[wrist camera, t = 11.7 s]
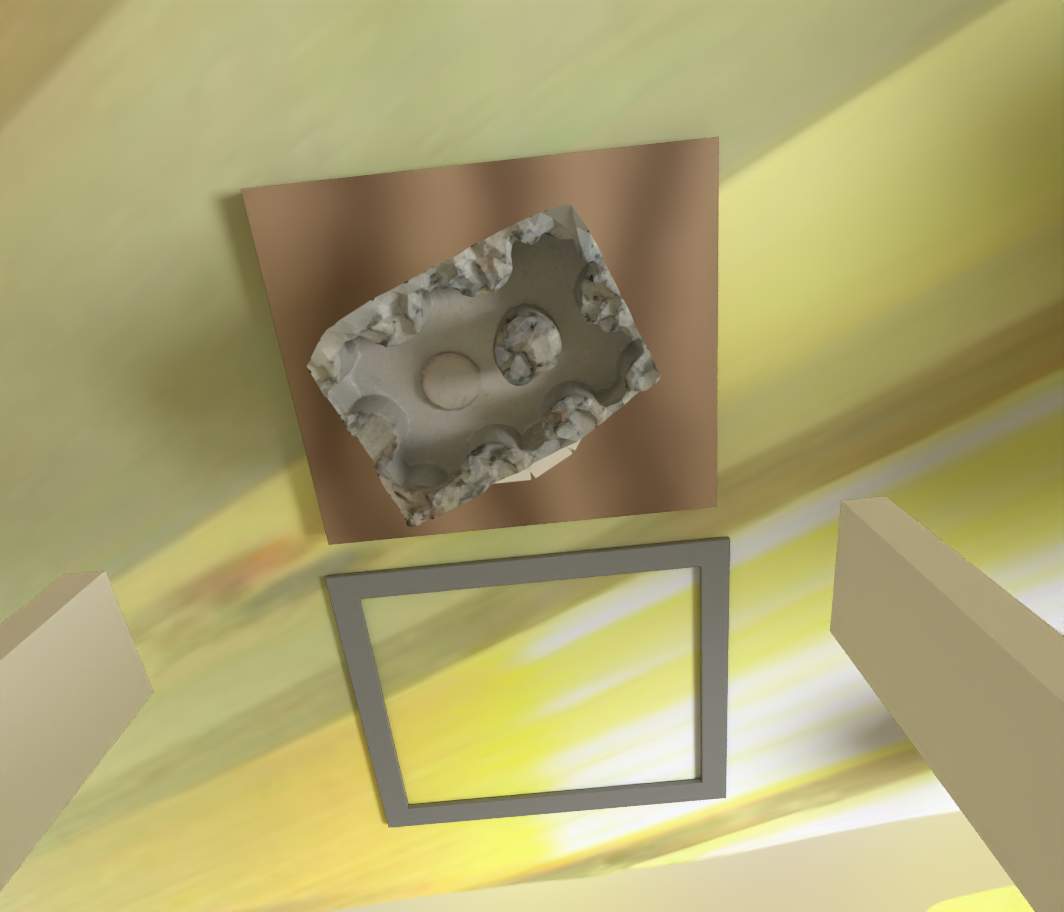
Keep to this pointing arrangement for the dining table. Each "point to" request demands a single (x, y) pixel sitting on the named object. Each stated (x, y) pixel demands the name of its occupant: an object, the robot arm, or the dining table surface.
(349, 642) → the mat border
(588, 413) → the egg carton
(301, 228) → the walnut board
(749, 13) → the dining table surface
